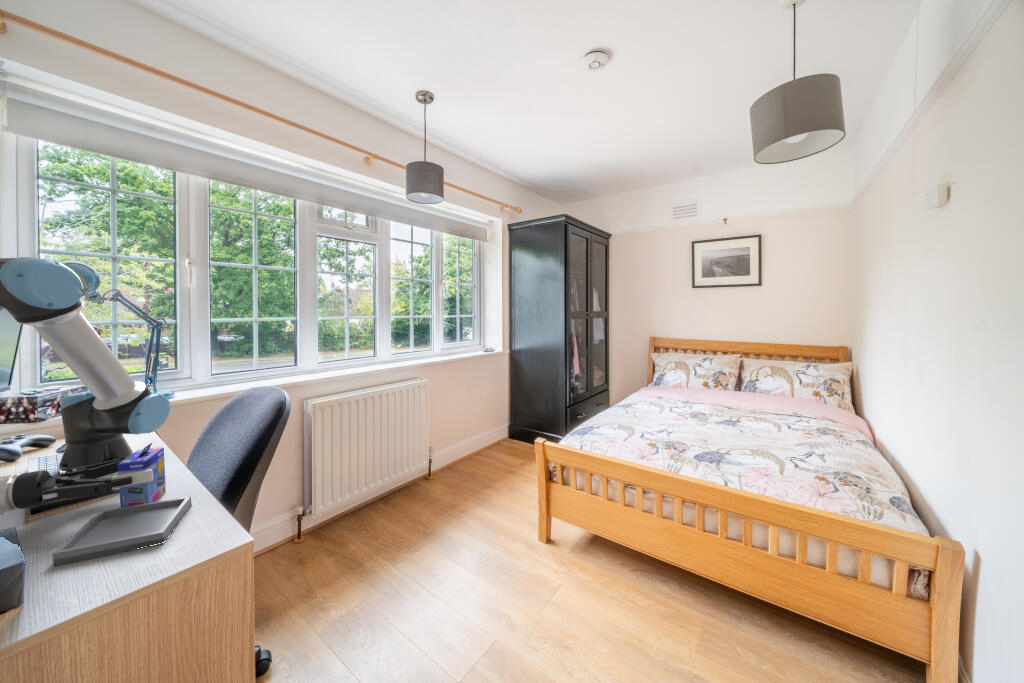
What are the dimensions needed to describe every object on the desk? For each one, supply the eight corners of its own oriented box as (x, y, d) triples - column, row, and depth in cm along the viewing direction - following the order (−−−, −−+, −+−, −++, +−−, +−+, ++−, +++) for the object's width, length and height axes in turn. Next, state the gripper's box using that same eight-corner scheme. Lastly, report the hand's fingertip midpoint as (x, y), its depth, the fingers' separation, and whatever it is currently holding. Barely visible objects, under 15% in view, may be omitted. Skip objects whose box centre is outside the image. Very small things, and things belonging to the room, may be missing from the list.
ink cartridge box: (150, 509, 90) (144, 451, 88) (119, 514, 88) (113, 454, 86) (168, 490, 99) (163, 437, 97) (141, 495, 97) (135, 440, 95)
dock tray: (102, 521, 85) (101, 511, 85) (191, 505, 92) (190, 496, 91) (53, 566, 70) (52, 553, 70) (164, 543, 77) (163, 532, 77)
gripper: (44, 487, 91) (166, 465, 104) (-9, 534, 72) (148, 500, 85) (40, 457, 90) (164, 438, 103) (-15, 497, 72) (145, 468, 84)
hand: (157, 466), depth 94 cm, fingers closed on ink cartridge box, 10 cm apart
